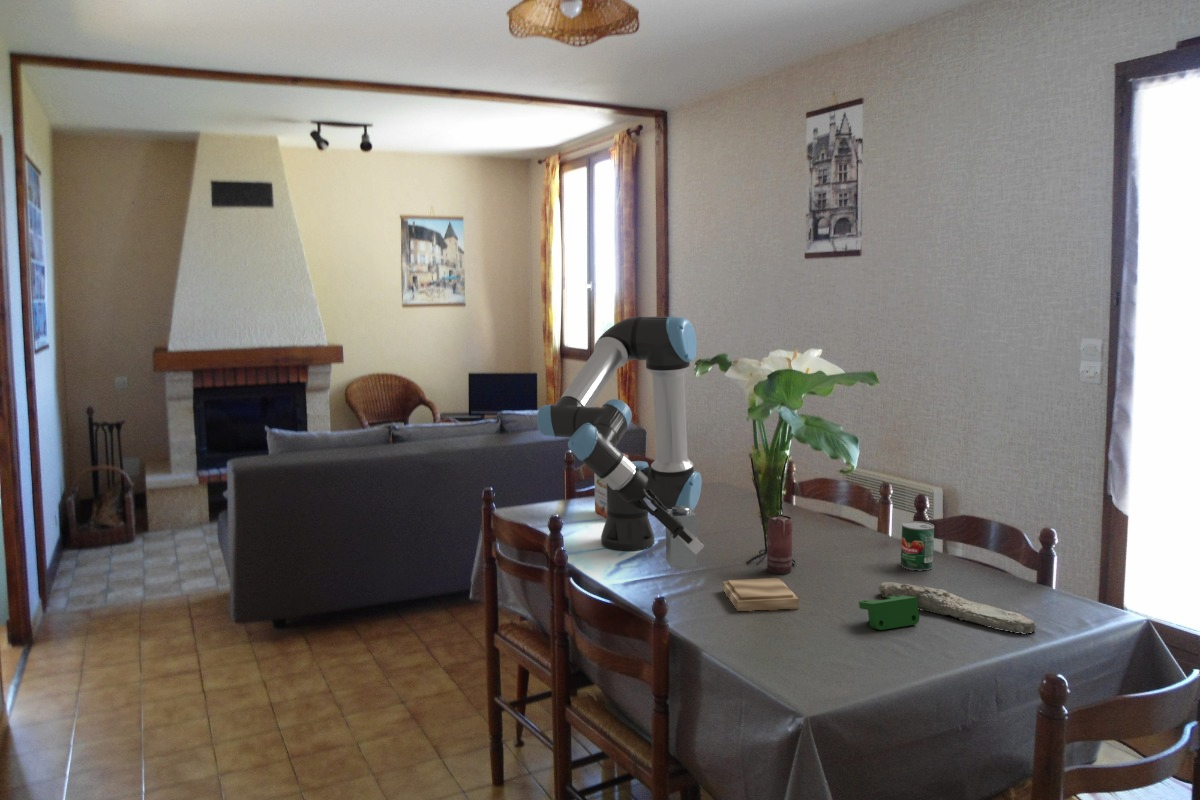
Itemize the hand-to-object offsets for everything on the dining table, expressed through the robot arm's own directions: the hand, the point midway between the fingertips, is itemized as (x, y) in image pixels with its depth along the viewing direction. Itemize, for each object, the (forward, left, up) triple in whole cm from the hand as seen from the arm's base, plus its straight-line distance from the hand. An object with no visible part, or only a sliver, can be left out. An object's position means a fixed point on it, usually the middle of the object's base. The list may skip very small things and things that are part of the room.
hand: (696, 545), depth 207 cm
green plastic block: (+19, +38, -13) cm, 44 cm away
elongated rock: (+15, +54, -14) cm, 58 cm away
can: (-18, +26, -13) cm, 34 cm away
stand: (+2, +15, -13) cm, 20 cm away
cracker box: (-79, -10, -13) cm, 81 cm away
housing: (0, -4, -4) cm, 5 cm away
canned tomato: (-17, +62, -13) cm, 65 cm away
